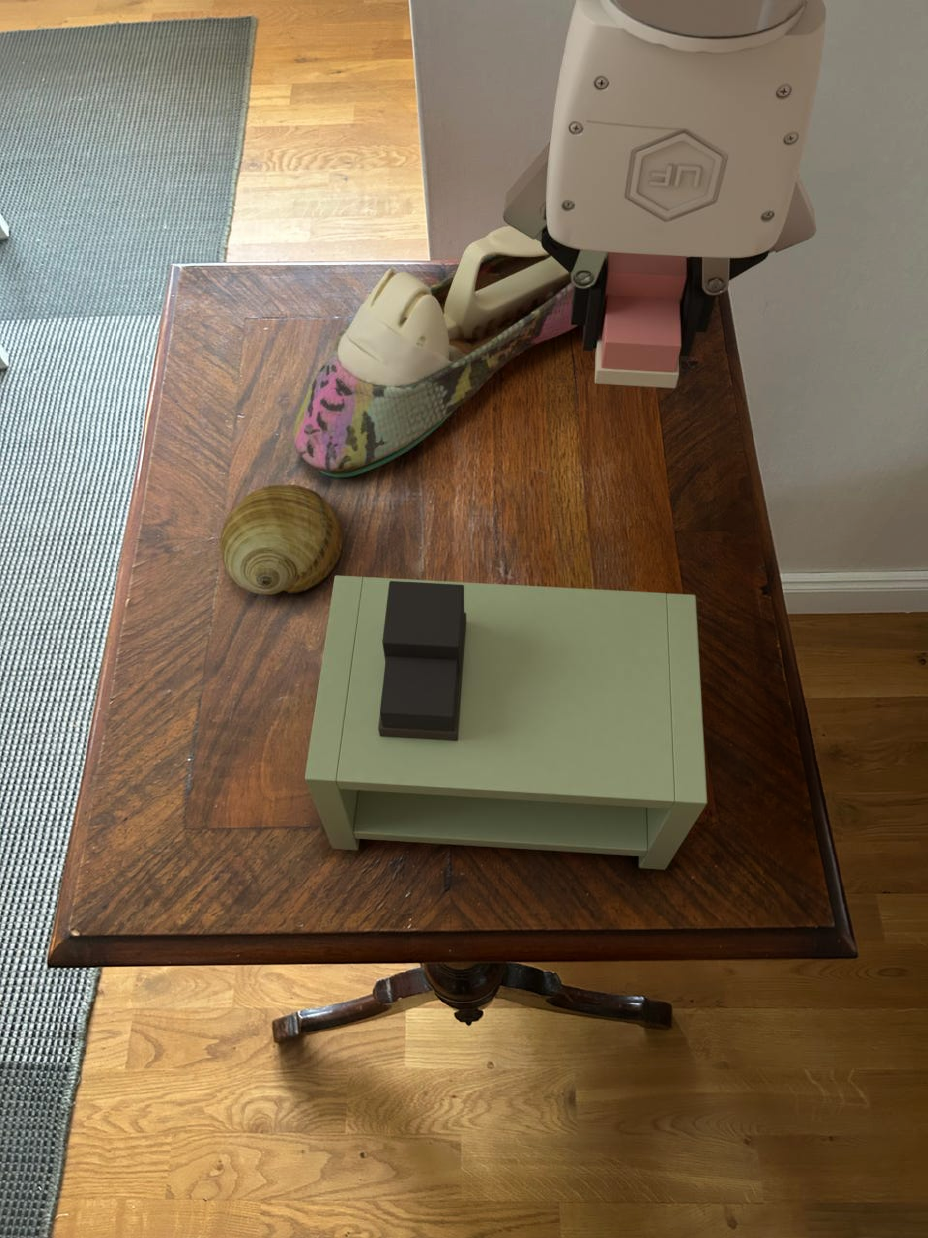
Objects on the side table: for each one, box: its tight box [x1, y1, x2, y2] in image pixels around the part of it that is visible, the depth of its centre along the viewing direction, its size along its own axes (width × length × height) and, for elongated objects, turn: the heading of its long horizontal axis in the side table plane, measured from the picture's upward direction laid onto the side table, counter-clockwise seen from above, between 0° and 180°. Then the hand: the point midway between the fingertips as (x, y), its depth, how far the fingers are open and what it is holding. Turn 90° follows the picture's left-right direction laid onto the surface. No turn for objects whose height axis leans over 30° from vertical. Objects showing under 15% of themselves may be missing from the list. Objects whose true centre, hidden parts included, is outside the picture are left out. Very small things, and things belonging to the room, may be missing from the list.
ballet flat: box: [294, 225, 579, 478], centre depth 75 cm, size 10×30×11 cm, turn 129°
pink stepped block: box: [594, 252, 688, 389], centre depth 50 cm, size 7×4×4 cm, turn 175°
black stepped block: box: [378, 581, 466, 741], centre depth 51 cm, size 7×4×4 cm, turn 176°
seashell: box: [219, 484, 343, 596], centre depth 69 cm, size 10×7×8 cm
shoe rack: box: [304, 575, 708, 871], centre depth 58 cm, size 20×12×12 cm, turn 86°
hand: (635, 330), depth 51 cm, fingers closed on pink stepped block, 4 cm apart
